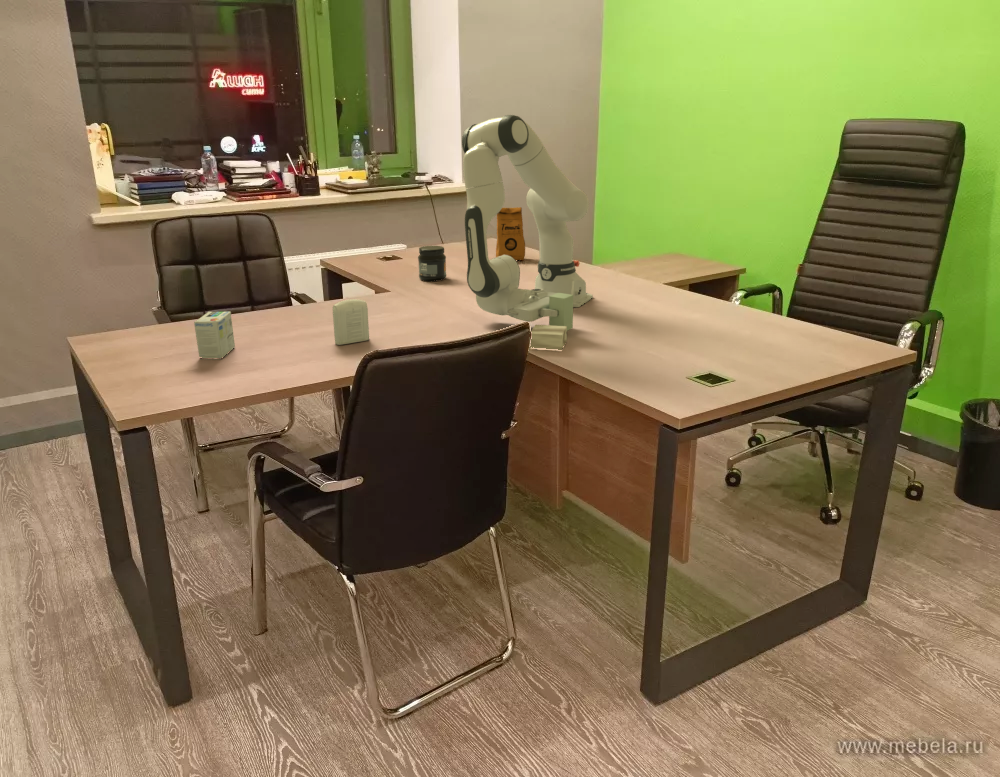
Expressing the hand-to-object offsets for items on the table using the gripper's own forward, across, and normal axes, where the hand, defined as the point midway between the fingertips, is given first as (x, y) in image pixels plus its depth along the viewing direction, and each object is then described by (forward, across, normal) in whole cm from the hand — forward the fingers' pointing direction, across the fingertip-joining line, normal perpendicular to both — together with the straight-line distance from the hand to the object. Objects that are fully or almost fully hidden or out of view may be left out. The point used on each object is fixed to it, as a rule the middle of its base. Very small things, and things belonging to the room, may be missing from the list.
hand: (563, 310), depth 236 cm
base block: (+2, -11, +8) cm, 14 cm away
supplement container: (-81, +37, +8) cm, 89 cm away
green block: (-1, 0, +6) cm, 6 cm away
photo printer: (-47, -39, +7) cm, 62 cm away
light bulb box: (-70, -68, +7) cm, 98 cm away
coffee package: (-77, +83, +8) cm, 113 cm away
